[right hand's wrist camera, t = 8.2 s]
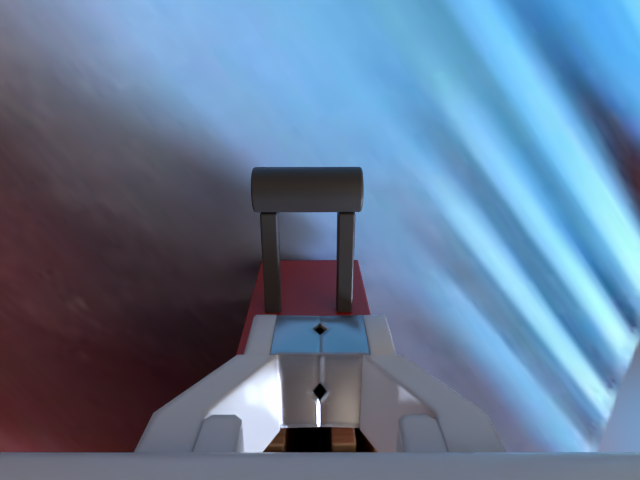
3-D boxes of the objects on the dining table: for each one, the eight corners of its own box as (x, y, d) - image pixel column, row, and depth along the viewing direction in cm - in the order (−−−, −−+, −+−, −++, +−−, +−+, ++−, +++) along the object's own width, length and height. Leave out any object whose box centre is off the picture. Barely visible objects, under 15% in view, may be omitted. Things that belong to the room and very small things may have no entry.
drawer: (255, 145, 19) (211, 203, 11) (361, 145, 19) (398, 202, 11) (273, 504, 27) (256, 698, 19) (349, 503, 27) (365, 696, 19)
